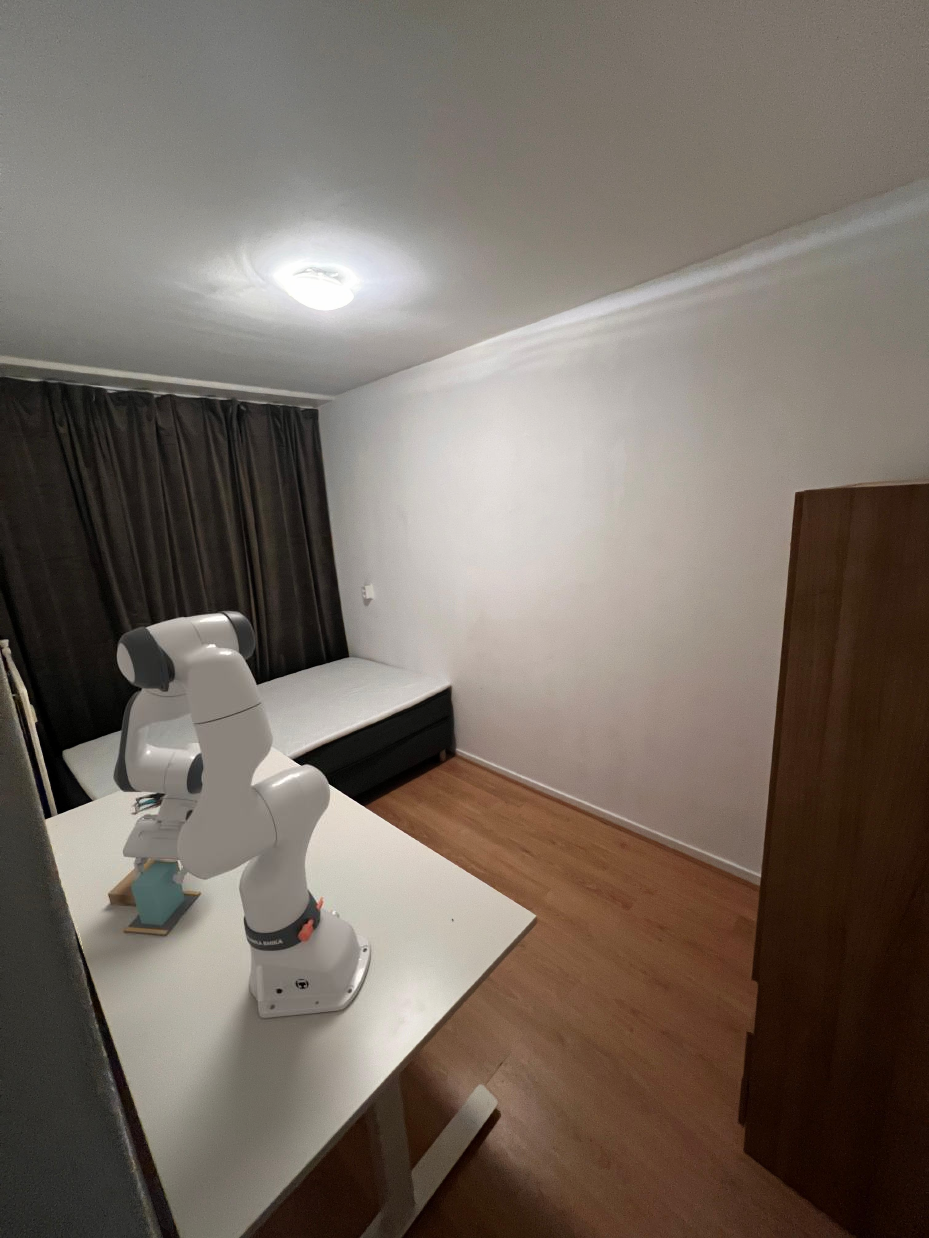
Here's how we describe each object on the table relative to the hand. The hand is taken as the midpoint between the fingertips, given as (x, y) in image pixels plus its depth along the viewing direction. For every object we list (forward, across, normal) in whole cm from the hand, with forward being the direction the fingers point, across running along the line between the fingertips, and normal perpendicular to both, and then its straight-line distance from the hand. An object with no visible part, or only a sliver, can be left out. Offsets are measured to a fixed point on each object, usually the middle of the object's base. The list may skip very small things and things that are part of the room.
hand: (157, 882), depth 105 cm
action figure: (-23, -31, +34) cm, 51 cm away
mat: (+6, 0, +5) cm, 8 cm away
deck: (+1, -10, +10) cm, 14 cm away
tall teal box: (+5, 0, +5) cm, 7 cm away
